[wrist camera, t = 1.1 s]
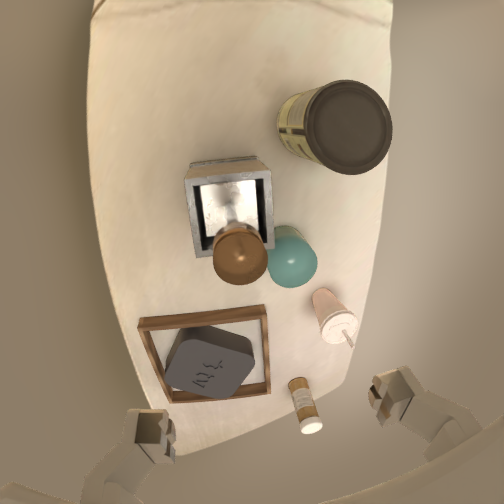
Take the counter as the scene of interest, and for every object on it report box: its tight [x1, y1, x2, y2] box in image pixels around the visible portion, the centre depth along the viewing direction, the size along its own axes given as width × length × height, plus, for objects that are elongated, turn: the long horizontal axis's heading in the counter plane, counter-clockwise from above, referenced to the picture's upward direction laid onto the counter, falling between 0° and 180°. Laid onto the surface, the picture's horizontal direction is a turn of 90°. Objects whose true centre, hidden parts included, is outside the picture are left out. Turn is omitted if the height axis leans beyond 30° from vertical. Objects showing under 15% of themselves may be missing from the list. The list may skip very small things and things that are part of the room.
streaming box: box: [164, 326, 255, 399], centre depth 53 cm, size 14×14×5 cm
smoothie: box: [312, 288, 358, 349], centre depth 46 cm, size 6×6×14 cm
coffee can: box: [277, 80, 392, 175], centre depth 33 cm, size 10×10×14 cm
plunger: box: [200, 179, 268, 285], centre depth 28 cm, size 6×6×14 cm
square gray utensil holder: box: [184, 156, 275, 258], centre depth 37 cm, size 9×9×12 cm
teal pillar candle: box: [266, 226, 317, 288], centre depth 44 cm, size 7×7×7 cm
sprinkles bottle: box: [289, 378, 322, 434], centre depth 56 cm, size 5×5×14 cm
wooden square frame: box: [137, 304, 271, 404], centre depth 54 cm, size 23×23×3 cm
